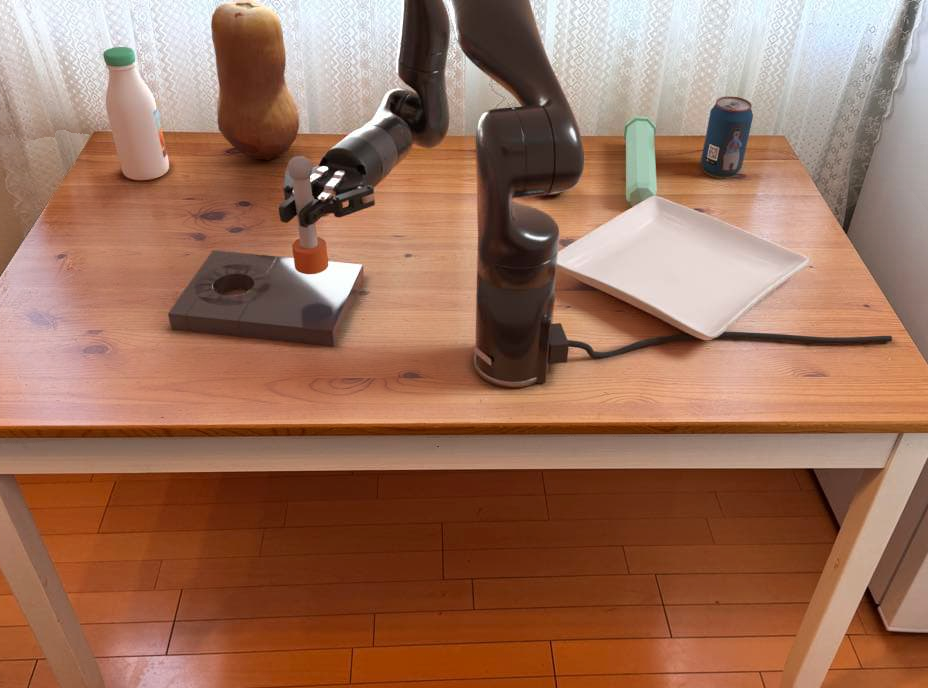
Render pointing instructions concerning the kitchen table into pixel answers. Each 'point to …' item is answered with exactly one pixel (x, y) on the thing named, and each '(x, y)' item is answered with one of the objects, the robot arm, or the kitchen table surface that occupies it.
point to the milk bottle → (133, 118)
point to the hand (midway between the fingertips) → (292, 218)
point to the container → (640, 159)
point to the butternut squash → (253, 80)
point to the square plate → (680, 265)
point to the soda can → (726, 137)
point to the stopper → (309, 246)
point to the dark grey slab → (267, 299)
